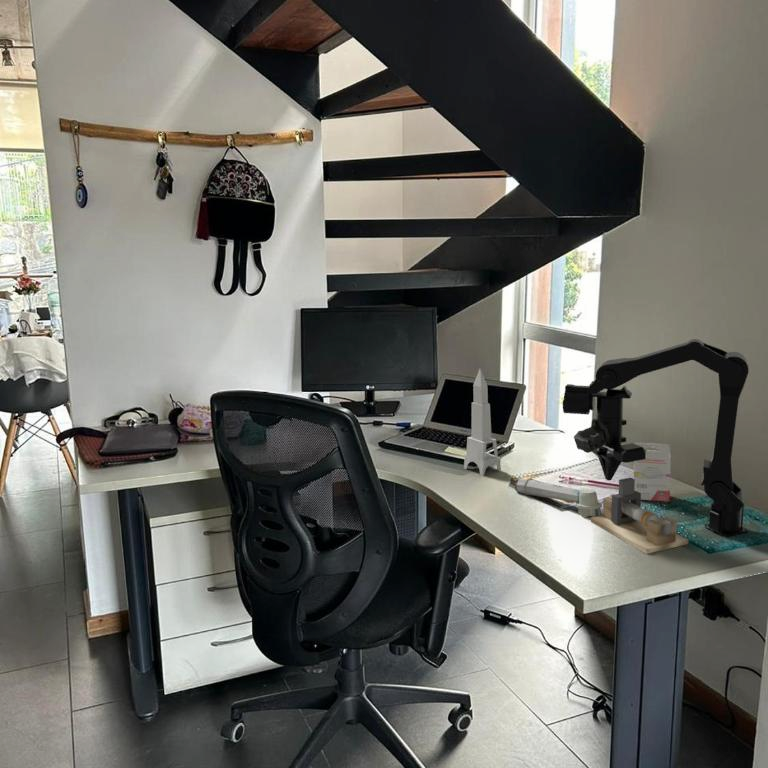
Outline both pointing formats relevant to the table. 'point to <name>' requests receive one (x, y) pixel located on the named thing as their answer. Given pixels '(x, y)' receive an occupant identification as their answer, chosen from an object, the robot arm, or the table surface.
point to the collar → (624, 495)
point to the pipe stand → (640, 528)
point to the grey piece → (562, 495)
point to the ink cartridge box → (653, 473)
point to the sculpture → (481, 429)
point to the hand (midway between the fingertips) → (608, 479)
